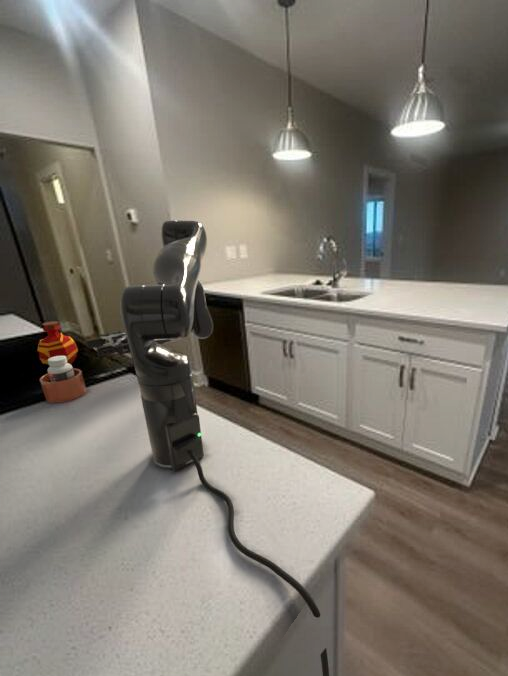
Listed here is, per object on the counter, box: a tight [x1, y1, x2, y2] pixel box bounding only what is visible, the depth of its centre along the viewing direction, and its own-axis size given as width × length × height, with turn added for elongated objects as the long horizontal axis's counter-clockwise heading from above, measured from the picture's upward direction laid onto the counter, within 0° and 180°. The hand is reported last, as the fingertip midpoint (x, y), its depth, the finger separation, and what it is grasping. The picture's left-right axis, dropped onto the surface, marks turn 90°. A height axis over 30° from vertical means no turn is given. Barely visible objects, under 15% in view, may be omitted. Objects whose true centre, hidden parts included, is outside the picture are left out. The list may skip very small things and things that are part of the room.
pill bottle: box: [47, 356, 75, 382], centre depth 90 cm, size 5×5×10 cm
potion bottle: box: [36, 320, 79, 368], centre depth 104 cm, size 10×10×15 cm
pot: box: [39, 367, 87, 403], centre depth 91 cm, size 9×9×6 cm
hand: (92, 348), depth 93 cm, fingers open, 8 cm apart
